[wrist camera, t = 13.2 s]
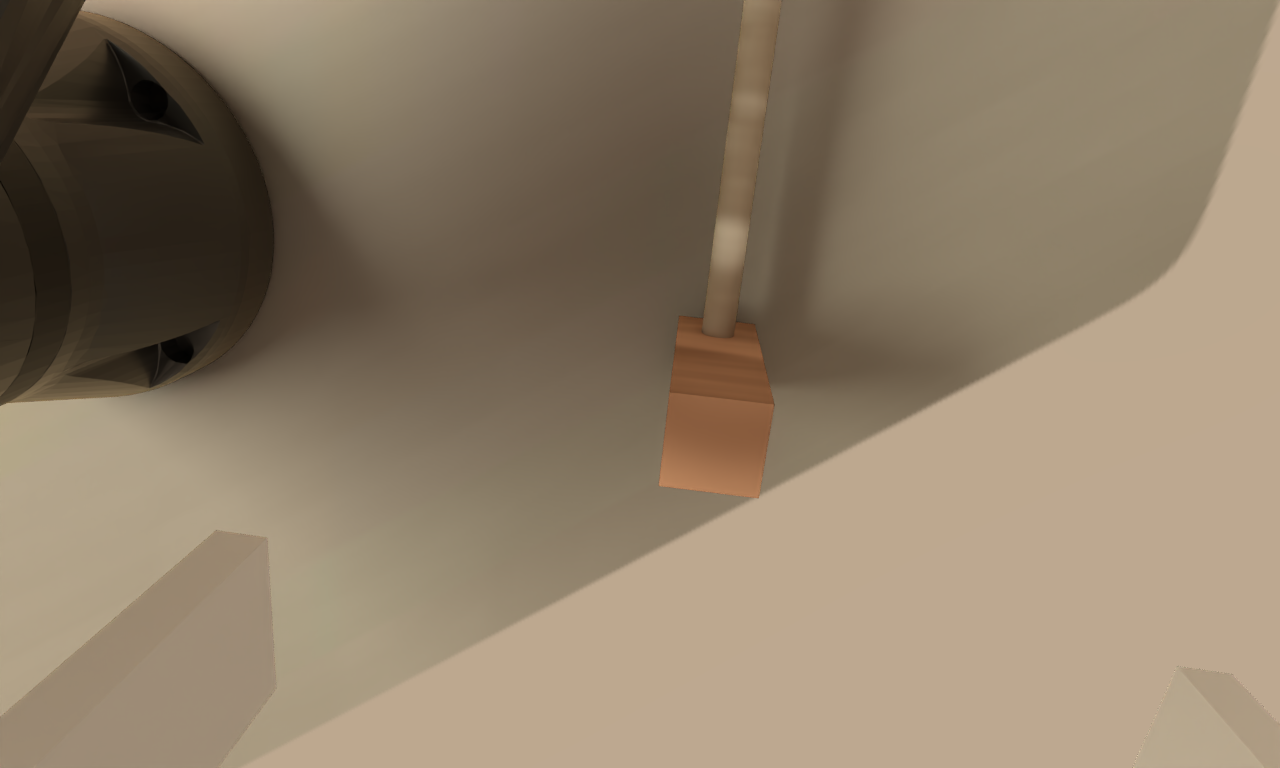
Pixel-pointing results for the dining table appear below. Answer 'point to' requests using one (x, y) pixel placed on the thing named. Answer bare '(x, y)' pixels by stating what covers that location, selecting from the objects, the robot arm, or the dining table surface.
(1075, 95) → the dining table surface
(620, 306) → the dining table surface
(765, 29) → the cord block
